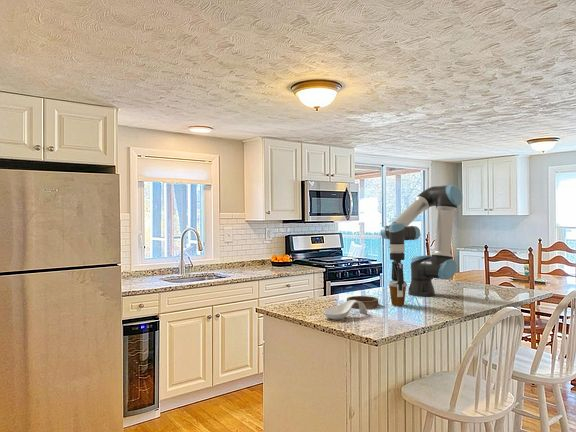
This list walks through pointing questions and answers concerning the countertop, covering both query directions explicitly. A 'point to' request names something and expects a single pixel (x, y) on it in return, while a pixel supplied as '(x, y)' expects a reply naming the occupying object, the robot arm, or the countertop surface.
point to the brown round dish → (365, 301)
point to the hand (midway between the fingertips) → (397, 295)
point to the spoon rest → (343, 310)
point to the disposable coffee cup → (393, 292)
